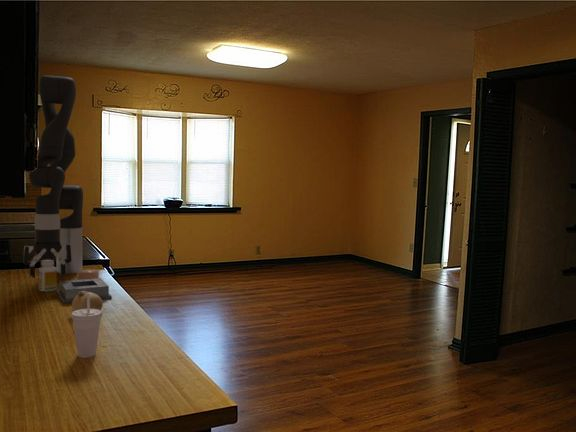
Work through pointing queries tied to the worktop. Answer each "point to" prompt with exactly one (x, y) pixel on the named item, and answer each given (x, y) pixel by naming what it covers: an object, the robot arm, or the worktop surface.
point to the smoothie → (86, 329)
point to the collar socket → (83, 289)
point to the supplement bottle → (47, 276)
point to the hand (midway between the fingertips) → (47, 276)
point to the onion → (81, 301)
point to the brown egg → (87, 274)
